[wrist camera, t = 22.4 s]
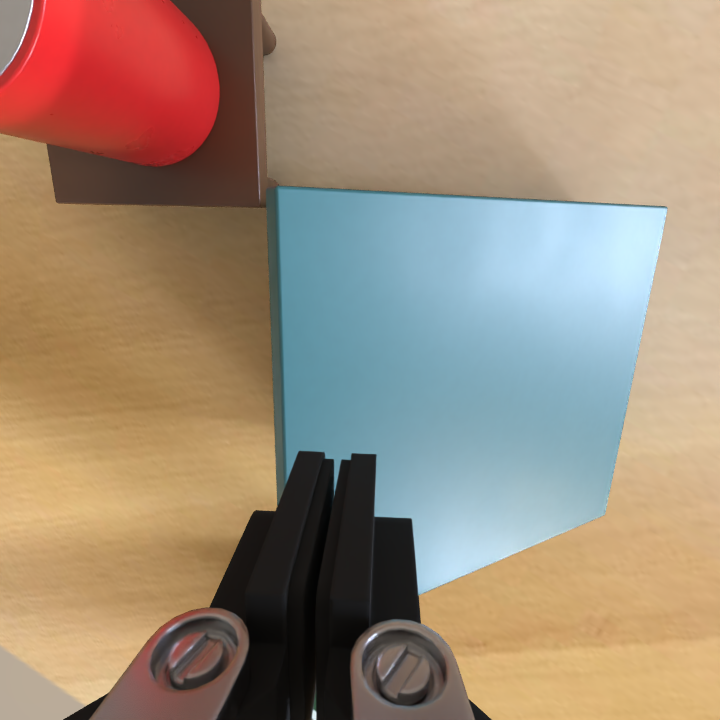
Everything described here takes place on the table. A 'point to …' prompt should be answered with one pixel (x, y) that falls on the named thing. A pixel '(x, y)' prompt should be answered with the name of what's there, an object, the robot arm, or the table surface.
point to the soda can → (107, 78)
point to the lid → (459, 356)
